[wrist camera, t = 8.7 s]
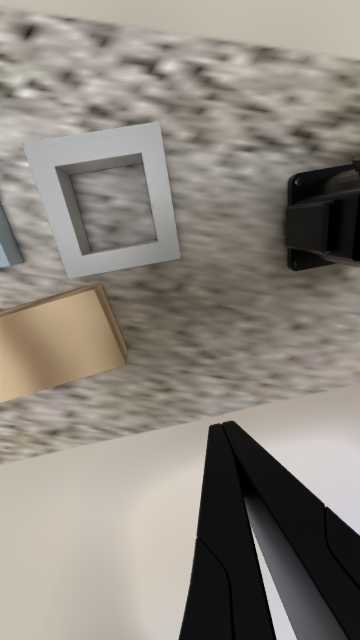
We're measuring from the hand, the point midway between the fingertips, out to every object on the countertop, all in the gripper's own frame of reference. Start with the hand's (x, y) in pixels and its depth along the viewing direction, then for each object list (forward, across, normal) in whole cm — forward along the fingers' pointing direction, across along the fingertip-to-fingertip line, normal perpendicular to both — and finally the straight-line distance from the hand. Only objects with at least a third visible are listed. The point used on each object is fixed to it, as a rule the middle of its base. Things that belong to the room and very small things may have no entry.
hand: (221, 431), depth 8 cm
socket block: (+12, +3, -8) cm, 15 cm away
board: (+12, +10, 0) cm, 16 cm away
